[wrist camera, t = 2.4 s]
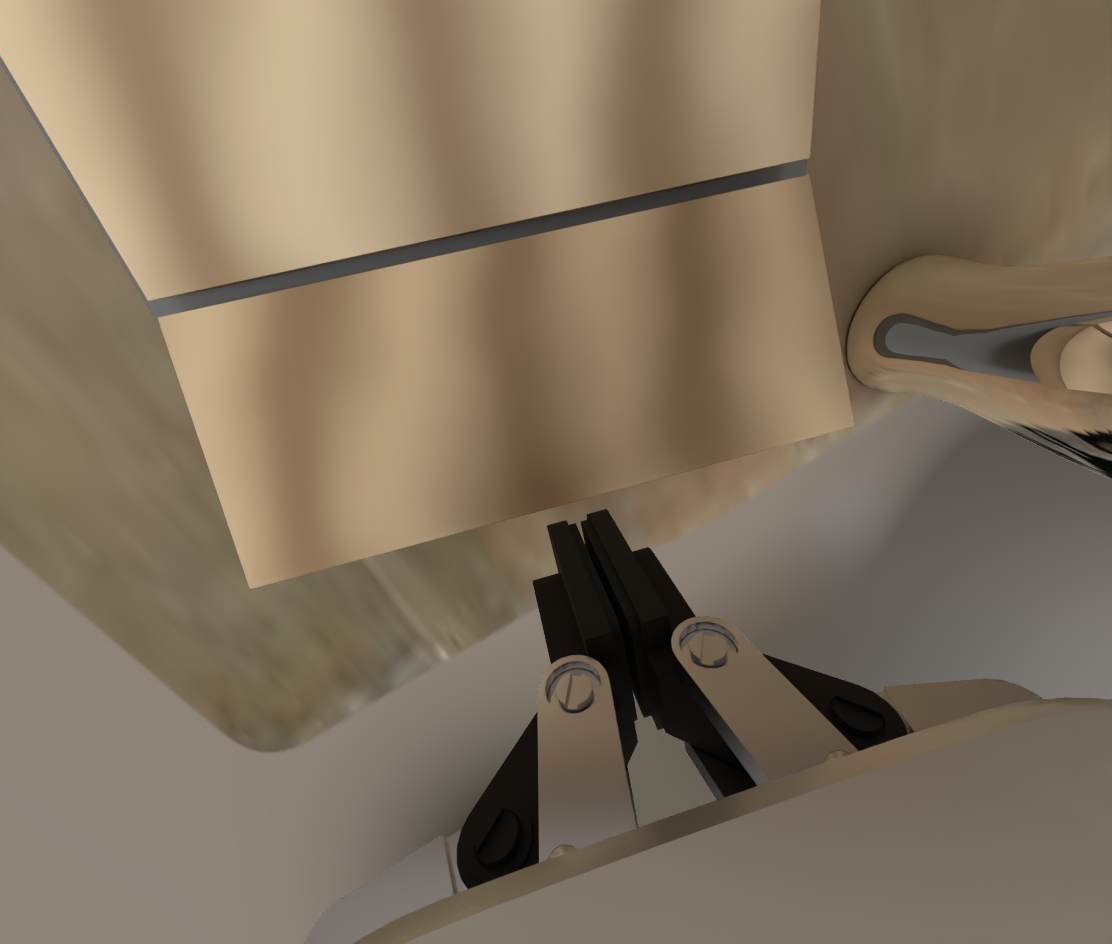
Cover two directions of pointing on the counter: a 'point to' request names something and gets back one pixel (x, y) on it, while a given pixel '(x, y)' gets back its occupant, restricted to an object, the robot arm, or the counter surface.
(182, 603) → the counter surface
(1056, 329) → the beer glass
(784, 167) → the underlay mat
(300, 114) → the board
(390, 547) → the loose plank
